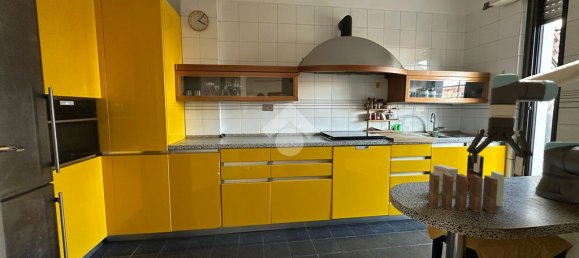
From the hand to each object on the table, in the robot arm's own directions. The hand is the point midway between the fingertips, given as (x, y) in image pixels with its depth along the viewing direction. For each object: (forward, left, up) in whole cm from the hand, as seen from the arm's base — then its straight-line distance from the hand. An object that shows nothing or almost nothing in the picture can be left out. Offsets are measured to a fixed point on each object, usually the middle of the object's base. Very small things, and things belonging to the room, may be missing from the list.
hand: (496, 173), depth 96 cm
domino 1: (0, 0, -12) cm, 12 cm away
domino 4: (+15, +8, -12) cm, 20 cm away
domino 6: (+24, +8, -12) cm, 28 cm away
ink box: (+15, -8, -12) cm, 21 cm away
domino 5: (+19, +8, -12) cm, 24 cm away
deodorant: (-1, -20, -12) cm, 23 cm away
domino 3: (+10, +8, -12) cm, 18 cm away
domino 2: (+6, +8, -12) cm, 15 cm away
